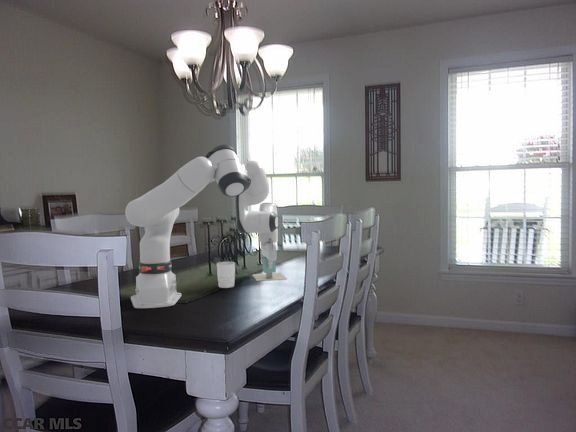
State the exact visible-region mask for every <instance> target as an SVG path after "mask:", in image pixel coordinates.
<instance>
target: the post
mask: <svg viewBox="0 0 576 432" xmlns="http://www.w3.org/2000/svg"><path fill="white" fill-rule="evenodd" d="M251 276H252V277H253V279H254V280H255V281H256V282H261V281H278V280H279V281H280V280H281V281H282V280H287V279H288V278H287V277H286V276H285V275H283V273H282V272H276V273H256V274H254V273H253V274H252V275H251Z"/></svg>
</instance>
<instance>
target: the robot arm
mask: <svg viewBox="0 0 576 432" xmlns="http://www.w3.org/2000/svg"><path fill="white" fill-rule="evenodd" d="M212 182H216V183H217V184H216V185H217V186H218V189H219V191H220V192H221V193H222V195H223V196H225V197H227V198H228V197H232V198H235V216H236V218H235V227H236V230H238V232H239V233H241V234H242V235H243V234H250V233H251V234H255V233H256V234H258V242H259V243H260V252H261V255H263V257H266V258H267V259H268V268H269V269H272V265H273V261H274V260H276V261H277V245H276V243H277V242H279V230H278V229H279V228H278V227H279V224H280V222H279V221H280V219H279V215H278V208H277V205H276V203H272V202H264V201H265V200H266V199H267V197H268V196H269V194H270V185H269V179H268V178H267V174H266V172H265V170H264V168H263V166H262V165H261V164H260V163H259V162H258V161H255V160H247V161H245V162H243V163H242V162H241V159H240V158H239V156H238V153H237V151H236V150H235V148H234V147H233V146H231V145H229V144H220V145H217V146H215V147H213V148H212V149H211V150H210V151H208V153H207V154H206V156H197V157H195V158H194V159H193V158H192V160H190V161H188V162H187V163H186V164H184V165H183V166H181V167H180V168H179V169H178V170H177V171H175V173H173V174H172V175H171V176H169V177H168V179H167V178H166V180H165V181H164V182H162V183H161V184H159V185H157V186H155V187H154V188H153V189H151V190H149V191H147V192H146V193H145V194H143V195H141V196H139V197H138V198H136V199H133V200H131V201H130V202H128V203H127V205H126V207H125V211H124V212H125V214H124V215H125V218H126V220H127V222H128V223H129V224H130V225H132V226H135V227H141V228H146V229H145V233H144V235H143V236H142V238H141V239H140V241H139V263H138V269H139V270H138V272H139V274H138V275H137V276H135V282H136V283H135V289H134V292H135V293H136V294H134V295H131V296H130V301H131V303H132V306H133V308H134V309H157V308H167V307H171V306H174V305H176V303H177V302H178V300H180V298H181V297H182V293H181V292H177V291H178V289H177V279H176V278H177V277H176V274H175V273H173V272H172V260H171V235H172V232H173V231H172V230H173V227H174V224H175V221H176V220H177V219H178V217H179V214H180V208H181V207H183V206H184V205H186V204H187V203H188V202H189V201H191V200H192V199H193V198H194V197H196V196H197V195H198V194H199V193H200V192H202V191H203V190H204V189H205V188H206V187H207V186H208V184H211V183H212ZM259 204H260V205H259ZM255 205H259V209H258V211H257V210H256V211H255V210H253V211H252V210H251V211H250V210H247V209H246V207H250V206H255Z"/></svg>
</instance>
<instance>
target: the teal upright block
mask: <svg viewBox="0 0 576 432" xmlns="http://www.w3.org/2000/svg"><path fill="white" fill-rule="evenodd" d="M276 262H277V259H276V260H274V261H273V265H272V269H269V268H268V259H267V258H266V257H265V256H263V257H262V272H263V274H266V273H277V266H276V265H277V263H276Z"/></svg>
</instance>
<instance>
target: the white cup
mask: <svg viewBox="0 0 576 432" xmlns="http://www.w3.org/2000/svg"><path fill="white" fill-rule="evenodd" d="M216 276H217V283H218V287H219V288H220V289H228V288H229V289H230V288H234V287H235V280H236V262H234V261H220V262H216Z"/></svg>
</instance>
